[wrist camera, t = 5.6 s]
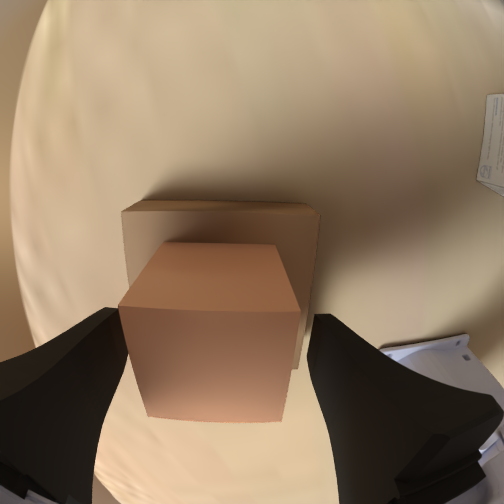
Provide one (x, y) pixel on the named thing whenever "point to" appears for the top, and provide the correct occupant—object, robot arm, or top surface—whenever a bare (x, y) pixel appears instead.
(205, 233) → the plinth
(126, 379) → the top surface
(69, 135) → the top surface
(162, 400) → the block
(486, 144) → the light bulb box
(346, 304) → the top surface
